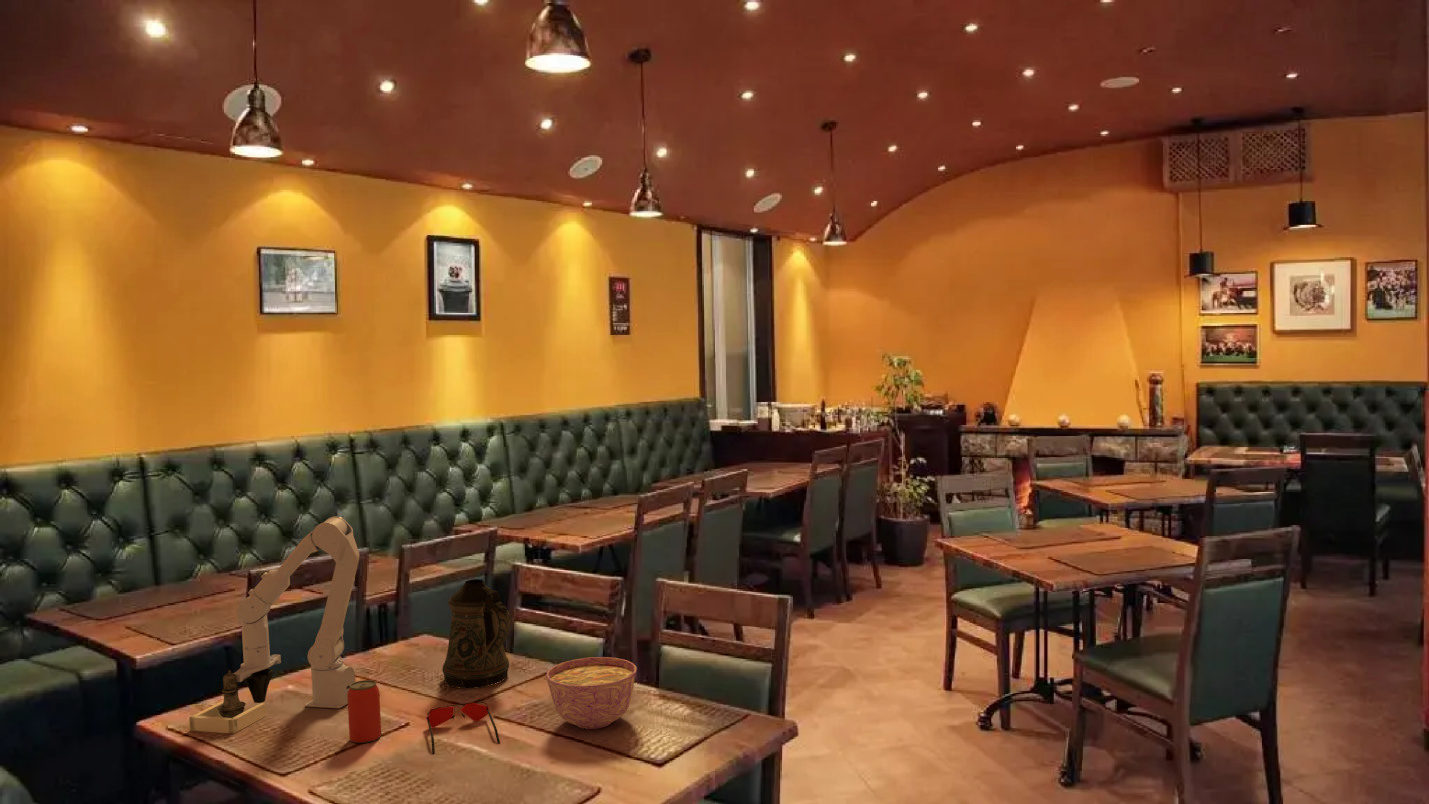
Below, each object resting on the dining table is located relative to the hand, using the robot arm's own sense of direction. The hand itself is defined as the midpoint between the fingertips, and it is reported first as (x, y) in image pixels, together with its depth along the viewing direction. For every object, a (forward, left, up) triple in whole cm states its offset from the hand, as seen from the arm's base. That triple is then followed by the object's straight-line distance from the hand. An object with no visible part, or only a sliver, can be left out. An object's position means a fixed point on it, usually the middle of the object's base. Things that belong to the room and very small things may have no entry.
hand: (259, 702), depth 243 cm
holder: (0, +11, -1) cm, 11 cm away
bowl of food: (-83, -3, -1) cm, 83 cm away
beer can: (-37, +14, -1) cm, 39 cm away
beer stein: (-44, -27, -1) cm, 52 cm away
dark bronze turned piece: (0, +9, -1) cm, 9 cm away
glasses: (-57, +8, -2) cm, 58 cm away
